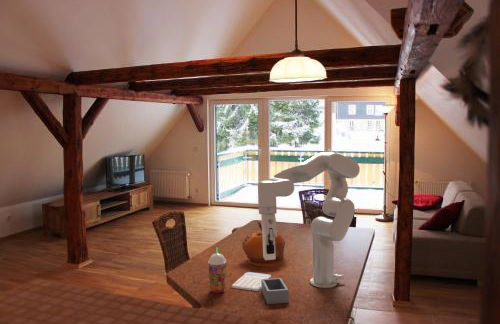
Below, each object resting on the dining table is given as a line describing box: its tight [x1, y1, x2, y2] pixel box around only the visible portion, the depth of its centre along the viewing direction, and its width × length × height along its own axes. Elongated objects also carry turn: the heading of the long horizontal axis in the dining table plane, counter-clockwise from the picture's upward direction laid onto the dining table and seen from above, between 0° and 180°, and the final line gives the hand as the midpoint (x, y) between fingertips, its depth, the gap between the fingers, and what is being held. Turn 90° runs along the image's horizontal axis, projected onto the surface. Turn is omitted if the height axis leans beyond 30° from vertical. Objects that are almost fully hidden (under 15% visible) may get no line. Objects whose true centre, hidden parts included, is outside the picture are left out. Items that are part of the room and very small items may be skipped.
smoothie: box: [207, 247, 227, 294], centre depth 176 cm, size 8×8×20 cm
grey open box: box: [261, 277, 290, 305], centre depth 169 cm, size 9×14×6 cm, turn 8°
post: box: [262, 230, 276, 260], centre depth 166 cm, size 4×4×12 cm
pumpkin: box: [241, 220, 287, 268], centre depth 220 cm, size 22×25×23 cm
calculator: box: [231, 271, 272, 292], centre depth 187 cm, size 13×20×2 cm, turn 159°
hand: (269, 251), depth 166 cm, fingers closed on post, 4 cm apart
